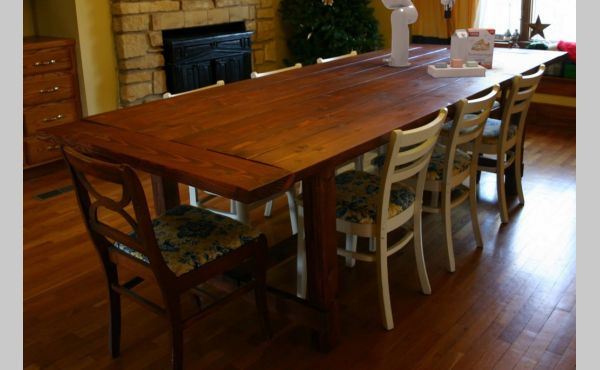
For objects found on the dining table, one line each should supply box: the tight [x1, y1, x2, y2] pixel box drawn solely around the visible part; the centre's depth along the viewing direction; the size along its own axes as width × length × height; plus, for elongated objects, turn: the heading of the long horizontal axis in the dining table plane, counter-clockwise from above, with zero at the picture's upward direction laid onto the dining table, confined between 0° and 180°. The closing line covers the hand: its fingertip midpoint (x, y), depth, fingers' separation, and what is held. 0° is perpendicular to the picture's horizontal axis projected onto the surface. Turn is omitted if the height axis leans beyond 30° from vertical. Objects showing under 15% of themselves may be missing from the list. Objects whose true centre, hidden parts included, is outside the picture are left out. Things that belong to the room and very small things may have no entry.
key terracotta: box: [449, 59, 463, 68], centre depth 319 cm, size 5×5×5 cm
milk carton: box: [449, 28, 468, 64], centre depth 350 cm, size 7×7×19 cm
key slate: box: [434, 61, 448, 68], centre depth 319 cm, size 5×5×5 cm
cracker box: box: [465, 27, 496, 70], centre depth 335 cm, size 14×6×21 cm, turn 82°
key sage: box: [466, 61, 478, 67], centre depth 320 cm, size 5×5×5 cm
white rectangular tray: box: [427, 64, 487, 79], centre depth 320 cm, size 26×14×4 cm, turn 94°
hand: (447, 18), depth 325 cm, fingers closed
